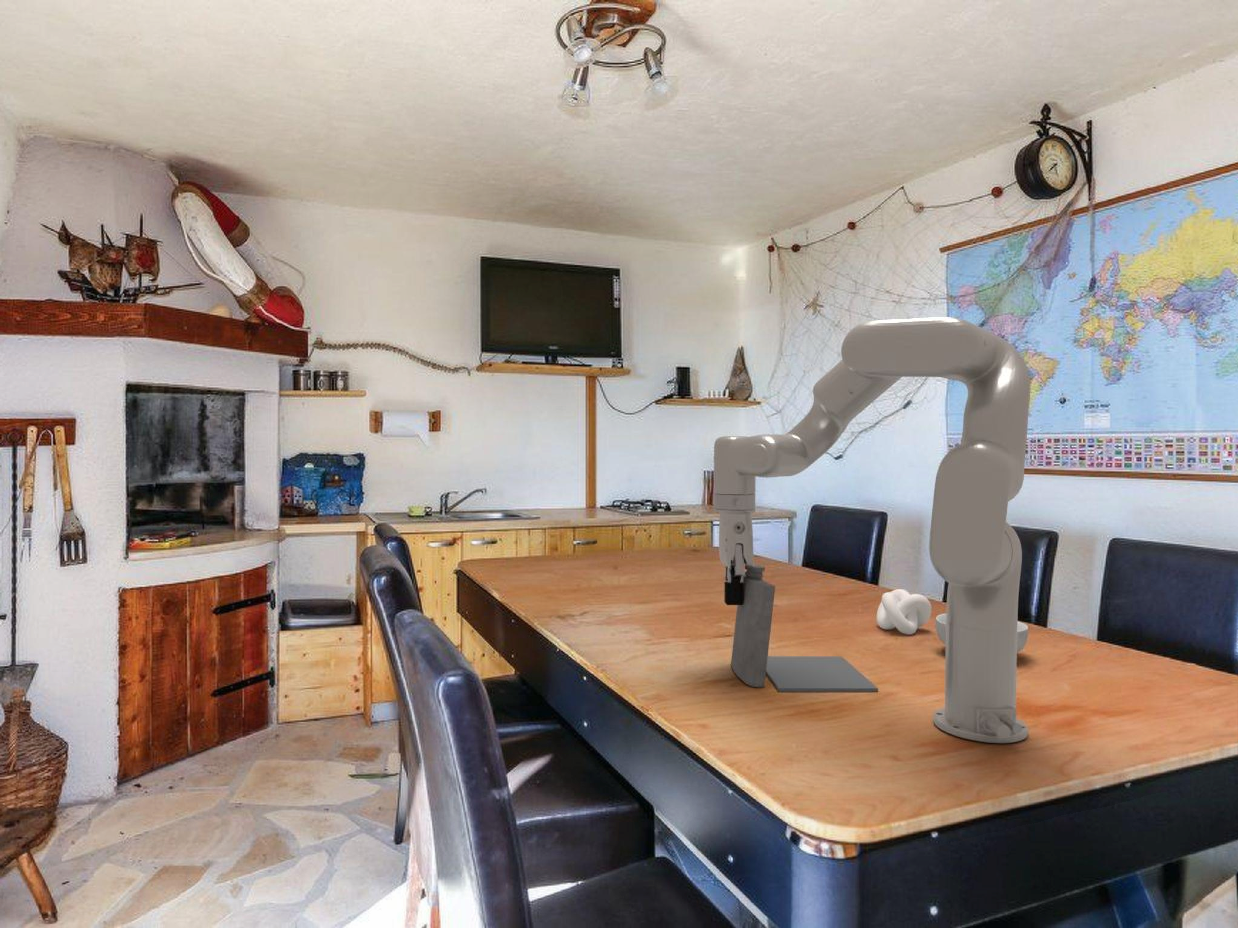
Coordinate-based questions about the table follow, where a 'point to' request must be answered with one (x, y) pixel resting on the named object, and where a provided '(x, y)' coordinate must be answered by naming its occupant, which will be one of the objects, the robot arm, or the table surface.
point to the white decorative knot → (903, 611)
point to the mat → (816, 674)
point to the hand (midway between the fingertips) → (733, 603)
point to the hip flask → (753, 628)
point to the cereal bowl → (1021, 631)
